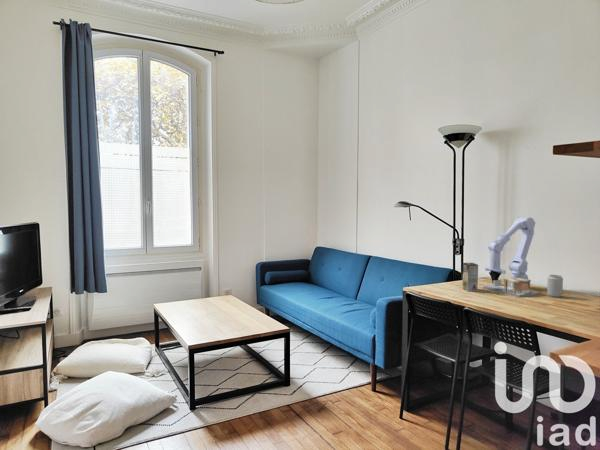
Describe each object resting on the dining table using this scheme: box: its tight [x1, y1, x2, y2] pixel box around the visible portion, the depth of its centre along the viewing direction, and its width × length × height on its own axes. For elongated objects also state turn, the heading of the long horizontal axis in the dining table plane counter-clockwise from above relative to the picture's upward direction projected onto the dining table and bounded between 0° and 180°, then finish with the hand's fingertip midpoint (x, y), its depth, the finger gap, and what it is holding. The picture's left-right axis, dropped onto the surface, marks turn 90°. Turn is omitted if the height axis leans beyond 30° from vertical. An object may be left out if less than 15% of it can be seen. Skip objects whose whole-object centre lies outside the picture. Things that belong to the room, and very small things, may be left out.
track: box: [482, 283, 539, 298], centre depth 253 cm, size 14×27×2 cm, turn 21°
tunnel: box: [503, 278, 531, 293], centre depth 248 cm, size 13×7×7 cm, turn 111°
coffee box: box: [461, 262, 479, 292], centre depth 258 cm, size 9×6×16 cm
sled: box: [492, 279, 531, 294], centre depth 252 cm, size 5×22×4 cm, turn 21°
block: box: [516, 282, 528, 292], centre depth 245 cm, size 4×4×4 cm
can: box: [546, 274, 564, 298], centre depth 241 cm, size 8×8×12 cm
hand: (494, 283), depth 263 cm, fingers closed
